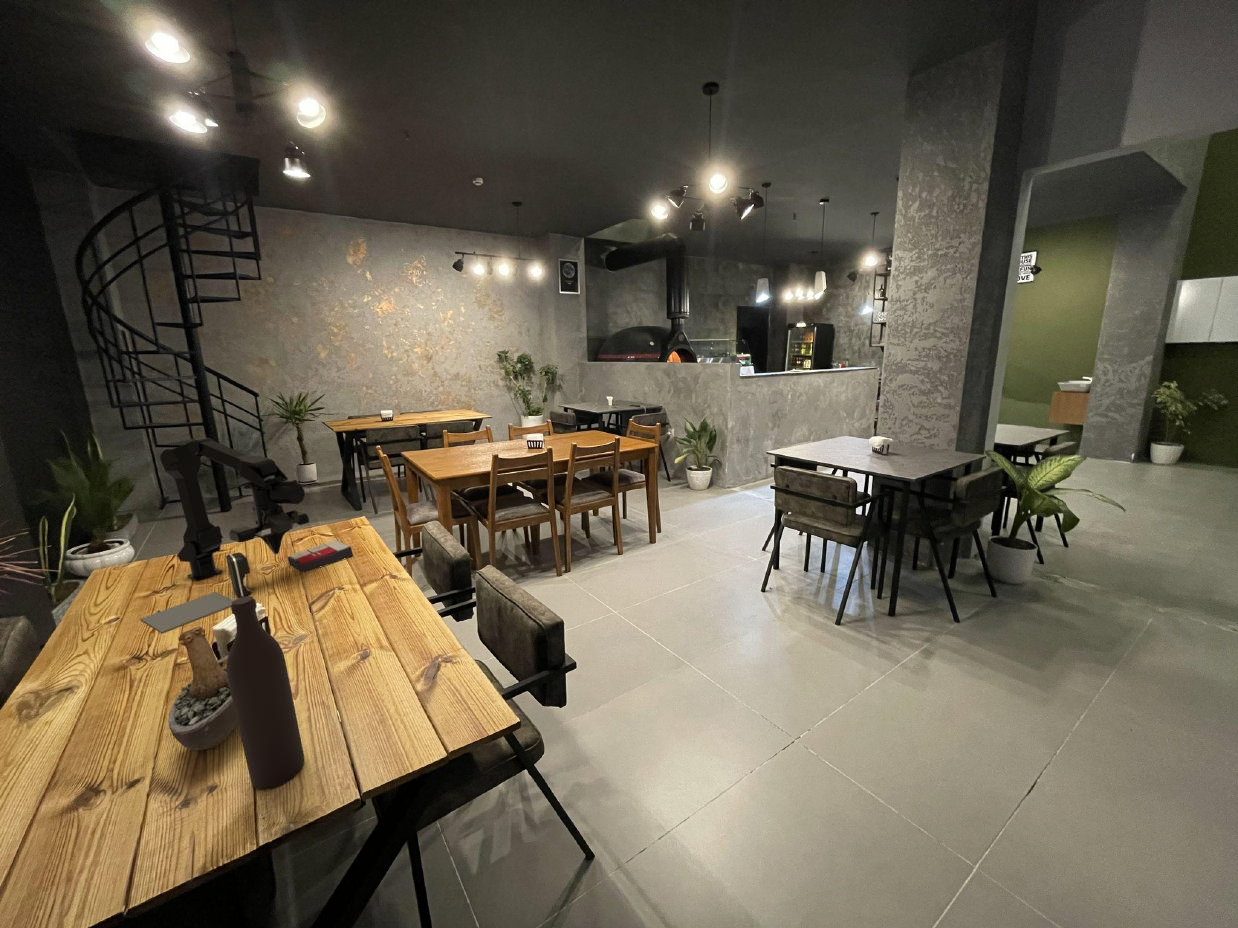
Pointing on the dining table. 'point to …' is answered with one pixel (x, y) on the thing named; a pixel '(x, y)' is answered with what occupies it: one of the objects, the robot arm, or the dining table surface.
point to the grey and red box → (320, 555)
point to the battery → (238, 573)
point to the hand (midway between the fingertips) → (276, 553)
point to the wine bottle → (263, 701)
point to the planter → (203, 697)
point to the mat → (187, 612)
